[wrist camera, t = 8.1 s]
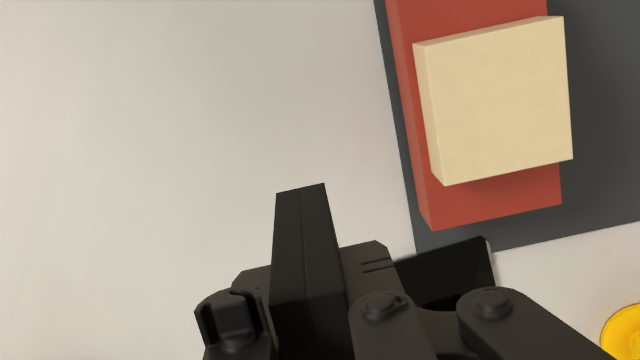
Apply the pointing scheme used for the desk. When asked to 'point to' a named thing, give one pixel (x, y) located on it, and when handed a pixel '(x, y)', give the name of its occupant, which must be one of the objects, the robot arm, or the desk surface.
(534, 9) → the toy car
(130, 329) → the desk surface
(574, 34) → the mat
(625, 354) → the candle
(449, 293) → the black angular block
